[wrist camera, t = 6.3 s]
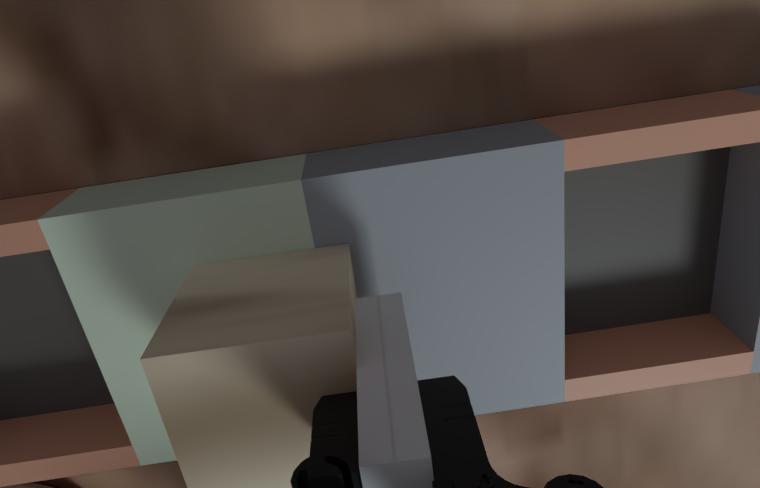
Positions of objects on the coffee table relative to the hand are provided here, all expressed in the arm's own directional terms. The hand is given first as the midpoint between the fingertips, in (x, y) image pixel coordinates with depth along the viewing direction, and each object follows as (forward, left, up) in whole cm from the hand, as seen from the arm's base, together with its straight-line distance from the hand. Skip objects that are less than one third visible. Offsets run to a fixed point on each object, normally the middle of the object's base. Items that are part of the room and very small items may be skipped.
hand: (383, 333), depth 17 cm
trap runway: (0, +2, -5) cm, 5 cm away
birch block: (0, +3, -2) cm, 4 cm away
